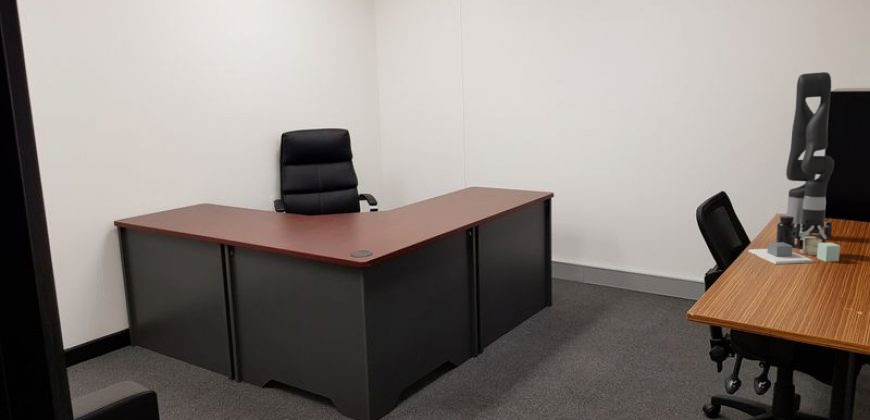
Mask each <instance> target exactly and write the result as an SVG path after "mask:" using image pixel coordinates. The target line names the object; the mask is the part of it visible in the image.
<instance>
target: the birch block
mask: <svg viewBox="0 0 870 420" xmlns="http://www.w3.org/2000/svg"><path fill="white" fill-rule="evenodd" d="M819 238H820V237H816V236H810V237H805V238H804V239H803V240H804V241H803V249H799V251H800V253H802V254H805V255H807V256H811V255H812V256H815V255H816V256H817V250H818V243H822V239H819Z"/></svg>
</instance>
